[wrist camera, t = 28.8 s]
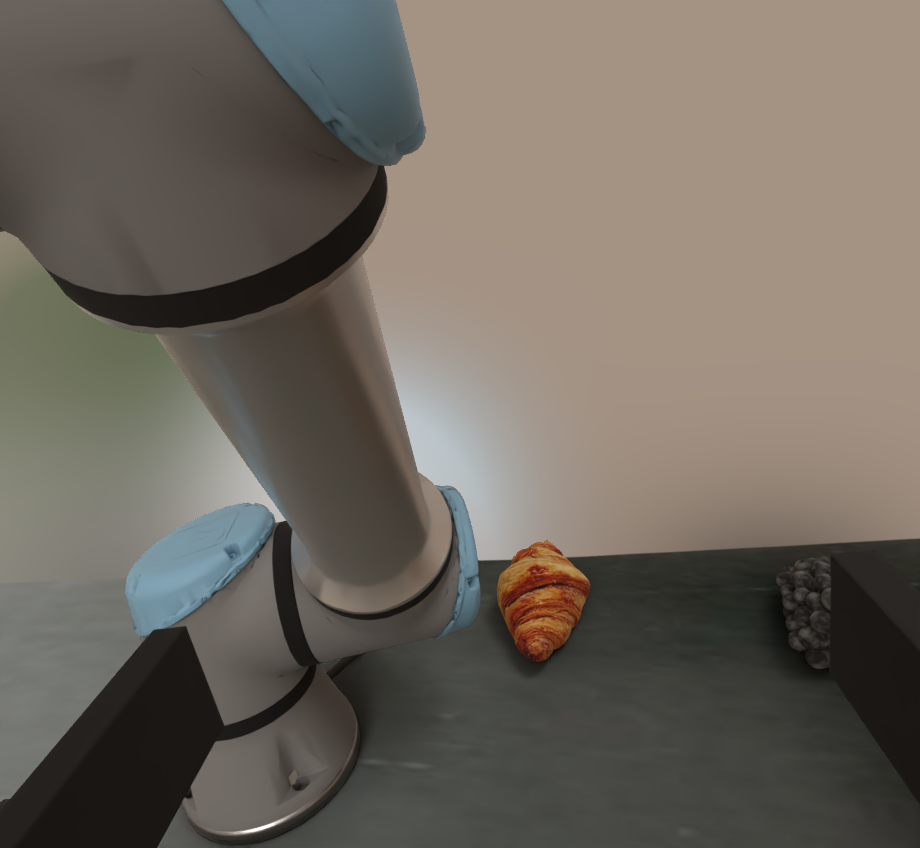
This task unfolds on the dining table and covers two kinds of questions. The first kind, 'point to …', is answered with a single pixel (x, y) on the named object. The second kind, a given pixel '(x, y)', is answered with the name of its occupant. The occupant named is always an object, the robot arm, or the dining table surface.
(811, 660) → the fruit
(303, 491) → the robot arm
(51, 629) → the dining table surface
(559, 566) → the croissant
